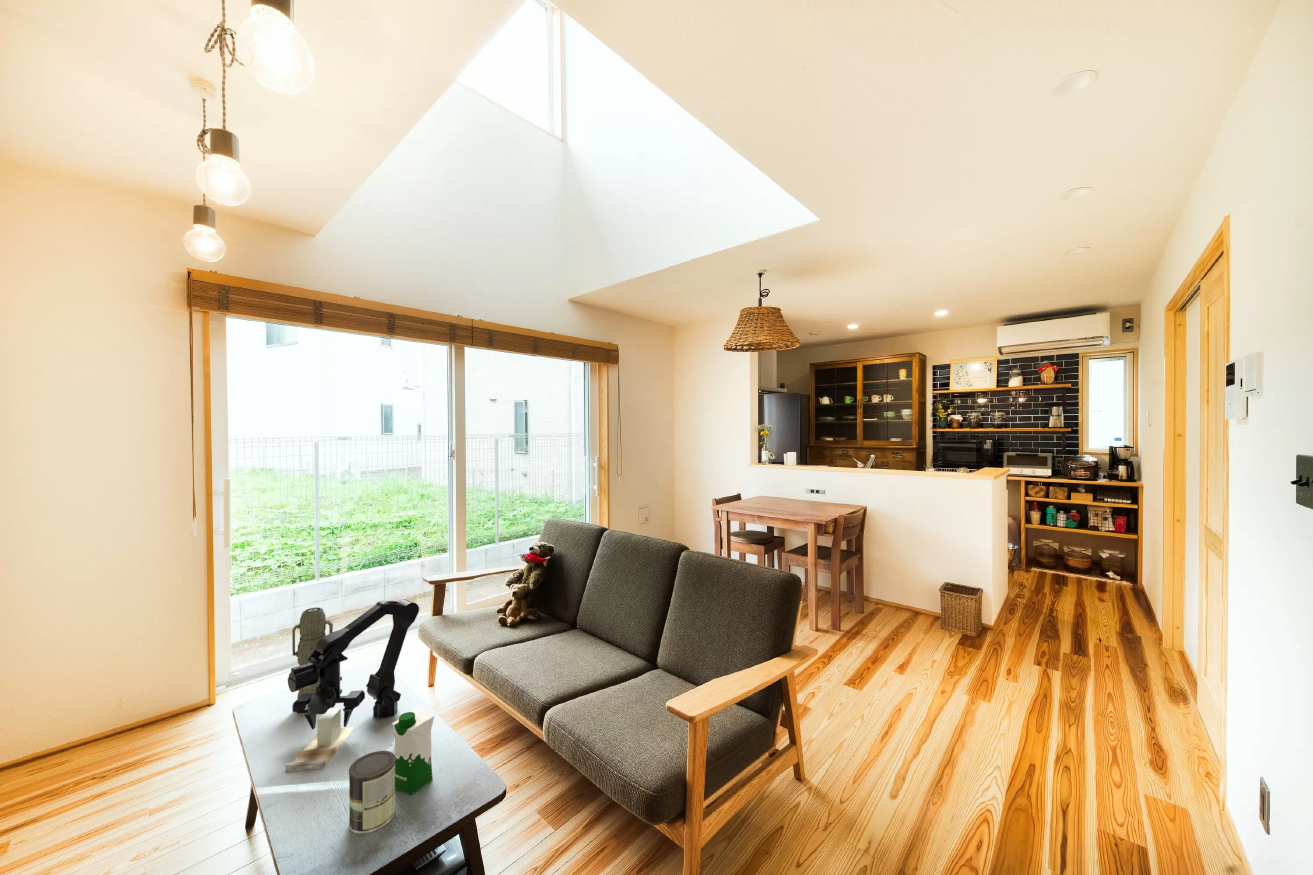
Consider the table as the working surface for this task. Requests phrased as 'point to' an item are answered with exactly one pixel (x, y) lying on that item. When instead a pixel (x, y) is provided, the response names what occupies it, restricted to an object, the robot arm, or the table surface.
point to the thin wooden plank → (317, 753)
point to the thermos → (309, 638)
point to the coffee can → (371, 792)
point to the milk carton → (412, 751)
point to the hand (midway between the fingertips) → (329, 727)
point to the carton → (328, 727)
